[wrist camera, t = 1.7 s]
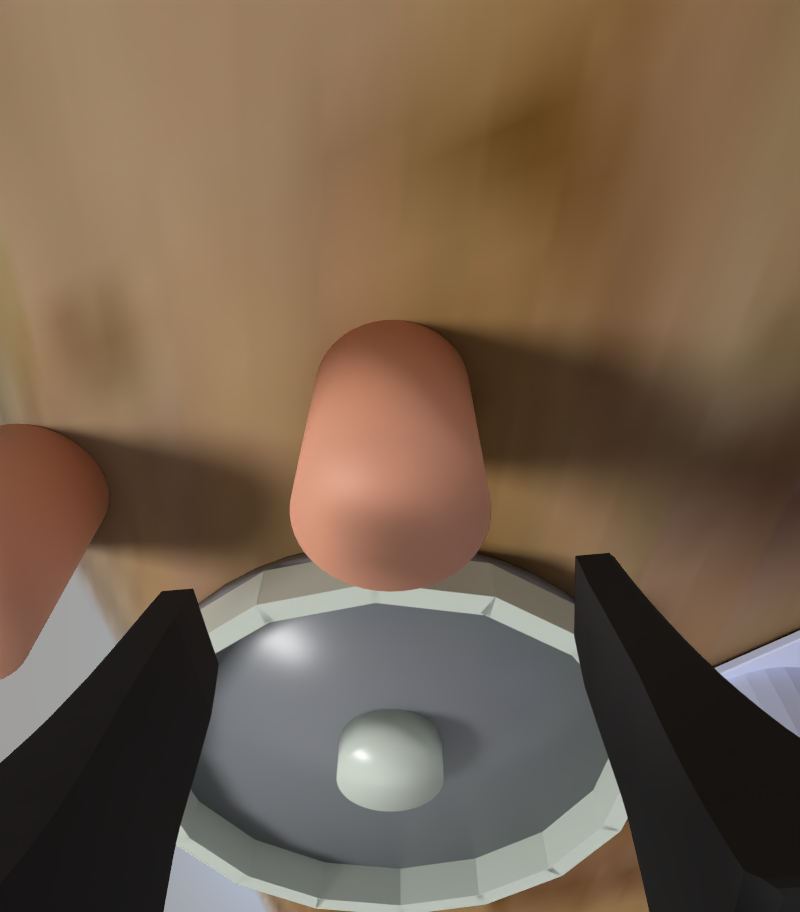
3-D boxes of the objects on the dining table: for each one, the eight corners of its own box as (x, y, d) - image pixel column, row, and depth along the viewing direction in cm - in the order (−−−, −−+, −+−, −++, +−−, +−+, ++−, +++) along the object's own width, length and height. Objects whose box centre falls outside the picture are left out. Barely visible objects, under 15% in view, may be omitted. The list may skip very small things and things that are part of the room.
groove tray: (713, 762, 31) (733, 811, 29) (351, 906, 37) (348, 955, 35) (455, 443, 23) (459, 484, 21) (43, 695, 29) (18, 744, 27)
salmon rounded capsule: (498, 407, 22) (528, 533, 17) (377, 482, 24) (371, 618, 18) (410, 288, 20) (413, 390, 15) (283, 377, 22) (247, 498, 16)
